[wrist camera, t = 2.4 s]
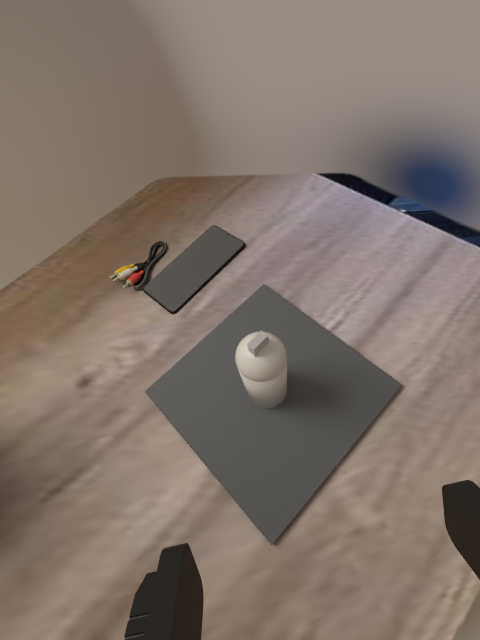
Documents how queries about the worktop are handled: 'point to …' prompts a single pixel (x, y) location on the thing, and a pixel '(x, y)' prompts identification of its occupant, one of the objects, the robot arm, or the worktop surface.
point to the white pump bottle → (263, 368)
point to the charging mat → (272, 409)
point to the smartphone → (193, 269)
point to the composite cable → (139, 269)
